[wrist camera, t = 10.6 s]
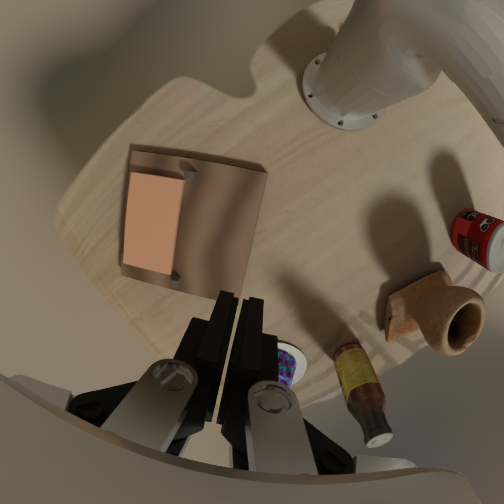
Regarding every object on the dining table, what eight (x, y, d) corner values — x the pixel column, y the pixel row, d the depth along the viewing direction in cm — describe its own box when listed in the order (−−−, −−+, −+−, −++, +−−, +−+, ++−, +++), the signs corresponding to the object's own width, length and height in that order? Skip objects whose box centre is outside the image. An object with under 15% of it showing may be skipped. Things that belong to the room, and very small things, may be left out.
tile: (131, 172, 34) (134, 171, 35) (123, 263, 39) (126, 260, 40) (183, 180, 34) (185, 179, 36) (170, 275, 39) (172, 271, 40)
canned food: (482, 214, 35) (521, 230, 25) (470, 255, 38) (506, 278, 27) (456, 202, 35) (498, 216, 25) (444, 246, 38) (482, 270, 27)
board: (267, 173, 36) (267, 174, 33) (239, 300, 43) (236, 311, 39) (136, 150, 36) (126, 150, 33) (124, 271, 42) (115, 279, 39)
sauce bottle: (325, 357, 45) (346, 447, 27) (351, 335, 44) (385, 423, 25) (347, 372, 46) (371, 455, 28) (371, 352, 45) (406, 433, 26)
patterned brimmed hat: (318, 352, 46) (322, 371, 41) (287, 392, 49) (287, 411, 44) (258, 330, 45) (256, 349, 40) (231, 374, 48) (228, 393, 43)
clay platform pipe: (445, 251, 38) (499, 287, 24) (448, 306, 41) (489, 349, 27) (373, 283, 40) (412, 335, 26) (382, 337, 44) (412, 393, 29)
